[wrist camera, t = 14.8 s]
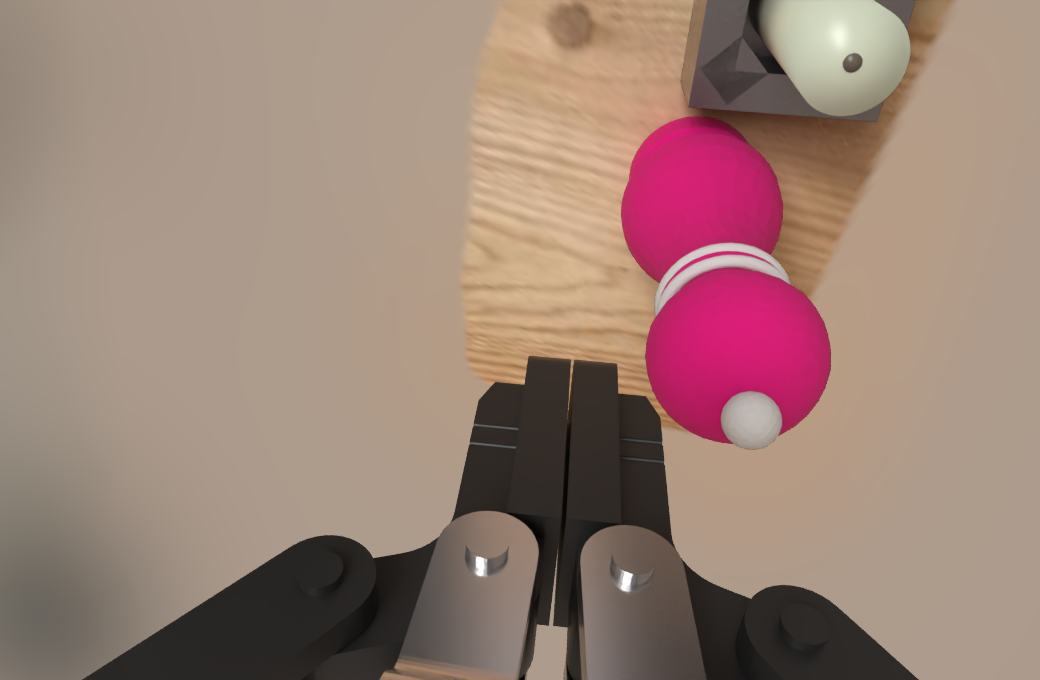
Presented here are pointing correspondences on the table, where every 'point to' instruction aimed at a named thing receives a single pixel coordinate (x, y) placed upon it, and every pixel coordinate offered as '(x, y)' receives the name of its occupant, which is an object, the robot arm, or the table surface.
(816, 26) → the candle
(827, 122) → the table surface
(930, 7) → the table surface
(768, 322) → the pepper mill
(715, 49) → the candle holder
